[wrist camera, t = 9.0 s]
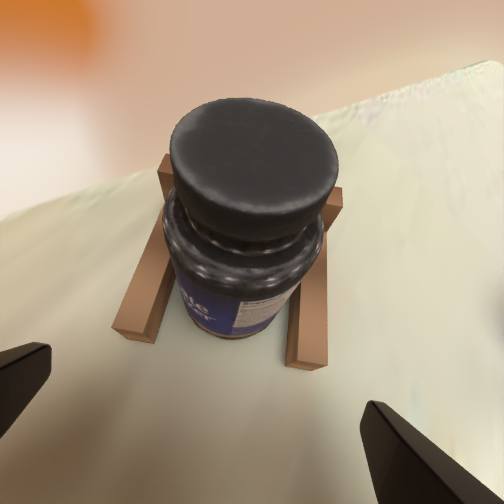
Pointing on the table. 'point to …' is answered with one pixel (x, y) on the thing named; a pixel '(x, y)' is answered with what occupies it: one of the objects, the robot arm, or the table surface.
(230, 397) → the table surface
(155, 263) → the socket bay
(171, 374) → the table surface
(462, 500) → the robot arm
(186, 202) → the pill bottle
